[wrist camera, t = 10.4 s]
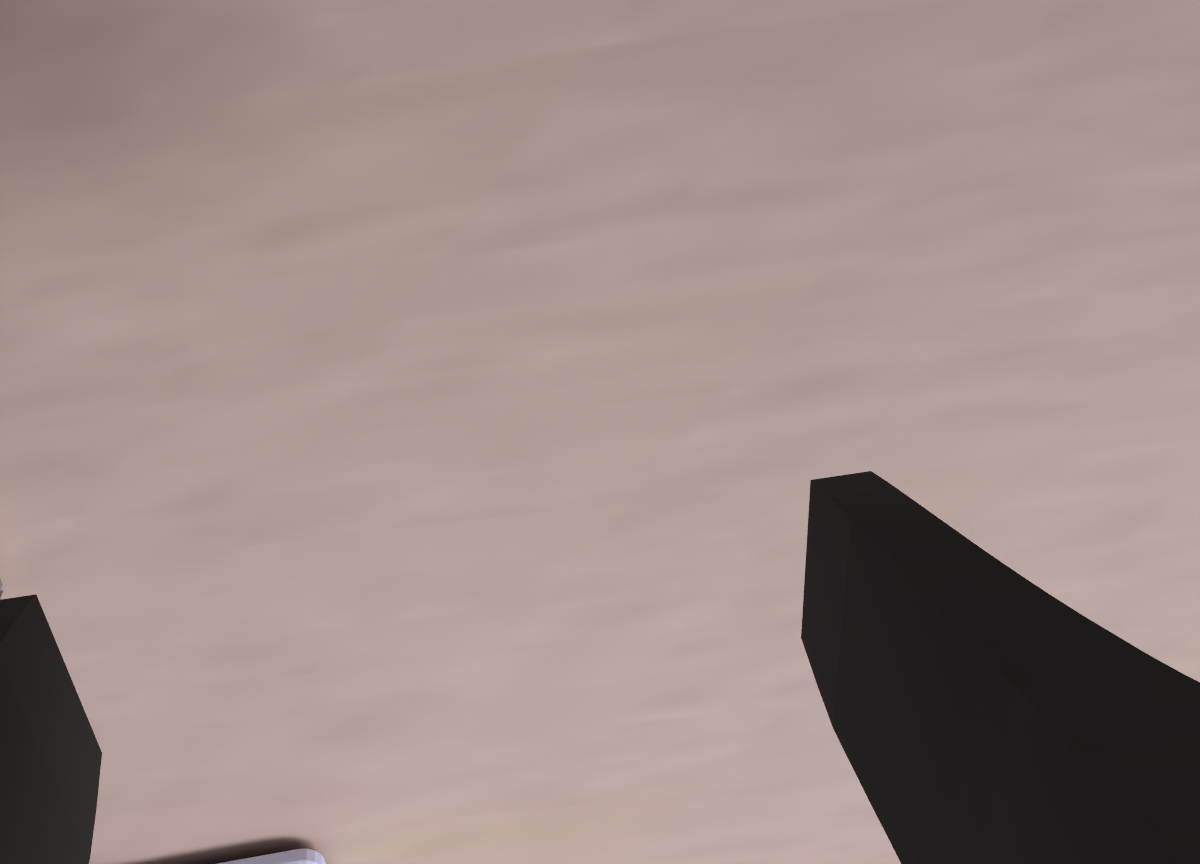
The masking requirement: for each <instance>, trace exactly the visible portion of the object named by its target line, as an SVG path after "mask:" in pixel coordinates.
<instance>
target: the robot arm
mask: <svg viewBox="0 0 1200 864" xmlns="http://www.w3.org/2000/svg"><path fill="white" fill-rule="evenodd" d="M801 638H802V641H803V644H804V647H805V650H806V653H807V656H808V659H809V662H810V665H811V668H812V670H813V673H814V676H815V679H816V682H817V685H818V688H819V691H820V693H821V696H822V699H823V702H824V704H825V707H826V710H827V712H828V715H829V718H830V721H831V723H832V726H833V729H834V731H835V733H836V735H837V737H838V739H839V741H840V743H841V745H842V747H843V749H844V751H845V753H846V755H847V757H848V759H849V761H850V763H851V765H852V767H853V769H854V771H855V773H856V775H857V777H858V779H859V781H860V783H861V785H862V787H863V789H864V791H865V793H866V795H867V797H868V799H869V801H870V803H871V805H872V807H873V809H874V811H875V813H876V815H877V817H878V819H879V821H880V823H881V824H882V826H883V828H884V830H885V832H886V834H887V836H888V838H889V840H890V842H891V844H892V846H893V848H894V850H895V852H896V854H897V856H898V858H899V860H900V862H901V864H1200V683H1199V682H1198V681H1196V680H1194V679H1192V678H1190V677H1188V676H1186V675H1184V674H1182V673H1180V672H1178V671H1177V670H1175V669H1173V668H1171V667H1169V666H1168V665H1166V664H1164V663H1162V662H1160V661H1159V660H1157V659H1155V658H1153V657H1151V656H1150V655H1148V654H1146V653H1144V652H1143V651H1141V650H1139V649H1138V648H1136V647H1134V646H1133V645H1131V644H1129V643H1128V642H1126V641H1124V640H1123V639H1121V638H1119V637H1118V636H1116V635H1114V634H1113V633H1111V632H1109V631H1107V630H1106V629H1104V628H1102V627H1101V626H1099V625H1097V624H1096V623H1094V622H1092V621H1091V620H1089V619H1087V618H1086V617H1084V616H1082V615H1081V614H1079V613H1078V612H1076V611H1075V610H1073V609H1071V608H1070V607H1068V606H1067V605H1065V604H1064V603H1062V602H1060V601H1059V600H1057V599H1056V598H1054V597H1053V596H1051V595H1049V594H1048V593H1046V592H1045V591H1043V590H1042V589H1040V588H1039V587H1037V586H1036V585H1034V584H1033V583H1031V582H1030V581H1028V580H1027V579H1025V578H1024V577H1022V576H1021V575H1019V574H1018V573H1016V572H1015V571H1013V570H1012V569H1010V568H1009V567H1007V566H1006V565H1004V564H1003V563H1002V562H1000V561H999V560H997V559H996V558H994V557H993V556H991V555H990V554H989V553H987V552H986V551H984V550H983V549H981V548H980V547H978V546H977V545H976V544H974V543H973V542H971V541H970V540H968V539H967V538H966V537H964V536H963V535H961V534H960V533H959V532H957V531H956V530H954V529H953V528H952V527H950V526H949V525H947V524H946V523H944V522H943V521H942V520H940V519H939V518H937V517H936V516H935V515H933V514H932V513H930V512H929V511H928V510H926V509H925V508H923V507H922V506H921V505H919V504H918V503H916V502H915V501H914V500H912V499H911V498H909V497H908V496H907V495H905V494H904V493H902V492H901V491H900V490H898V489H897V488H895V487H894V486H892V485H891V484H889V483H888V482H887V481H885V480H884V479H882V478H881V477H879V476H878V475H876V474H875V473H873V472H871V471H869V472H862V473H856V474H849V475H842V476H835V477H829V478H822V479H815V480H811V485H810V502H809V518H808V535H807V552H806V568H805V585H804V601H803V618H802V634H801ZM101 756H102V752H101V750H100V747H99V745H98V742H97V740H96V738H95V735H94V733H93V730H92V728H91V726H90V723H89V721H88V718H87V716H86V714H85V711H84V709H83V706H82V704H81V701H80V699H79V697H78V694H77V692H76V689H75V687H74V685H73V682H72V680H71V677H70V675H69V673H68V670H67V668H66V665H65V663H64V660H63V658H62V656H61V653H60V651H59V648H58V646H57V644H56V641H55V639H54V636H53V634H52V632H51V629H50V627H49V624H48V622H47V620H46V617H45V615H44V612H43V610H42V607H41V605H40V603H39V600H38V598H37V595H30V596H23V597H16V598H10V599H3V600H0V864H89V859H90V853H91V845H92V838H93V830H94V822H95V815H96V806H97V796H98V786H99V776H100V766H101ZM217 864H326V863H325V859H324V858H323V856H322V855H321V854H320V853H318V852H317V851H315V850H311V849H295V850H290V851H284V852H278V853H273V854H267V855H261V856H256V857H250V858H245V859H239V860H233V861H228V862H222V863H217Z"/></svg>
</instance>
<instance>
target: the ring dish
mask: <svg viewBox="0 0 1200 864" xmlns="http://www.w3.org/2000/svg"><path fill="white" fill-rule="evenodd" d="M2 585H3V584H2V582H1V579H0V599H1V596H2V593H3V591H1V588H2Z"/></svg>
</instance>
